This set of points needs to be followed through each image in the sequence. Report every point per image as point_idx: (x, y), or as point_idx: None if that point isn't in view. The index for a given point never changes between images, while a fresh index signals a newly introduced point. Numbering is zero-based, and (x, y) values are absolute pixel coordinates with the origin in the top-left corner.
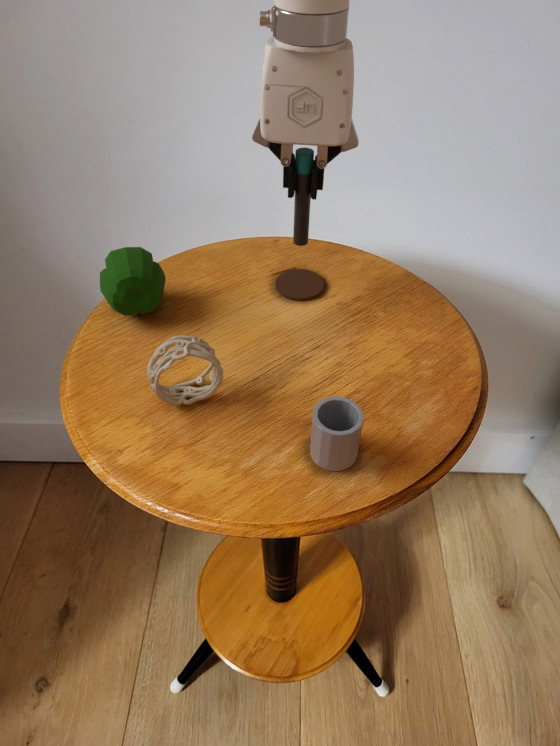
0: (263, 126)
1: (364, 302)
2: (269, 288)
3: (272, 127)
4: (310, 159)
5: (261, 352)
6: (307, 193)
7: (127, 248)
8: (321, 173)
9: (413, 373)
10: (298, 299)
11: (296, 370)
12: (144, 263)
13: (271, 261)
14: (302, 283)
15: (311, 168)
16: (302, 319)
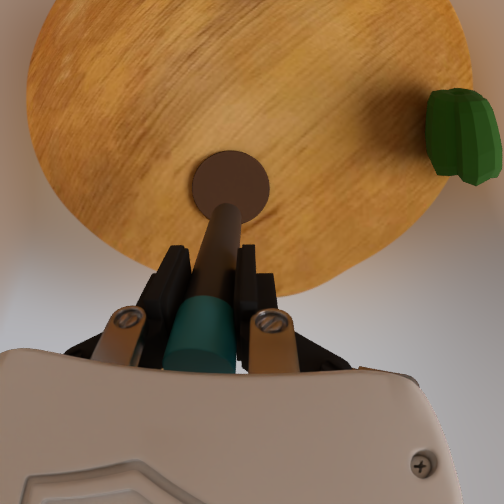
0: (435, 429)
1: (133, 165)
2: (277, 176)
3: (385, 443)
4: (171, 338)
5: (271, 34)
6: (197, 263)
7: (492, 166)
8: (143, 302)
9: (78, 52)
10: (228, 151)
11: (217, 11)
12: (473, 132)
13: (280, 243)
14: (226, 188)
15: (175, 317)
16: (217, 108)
